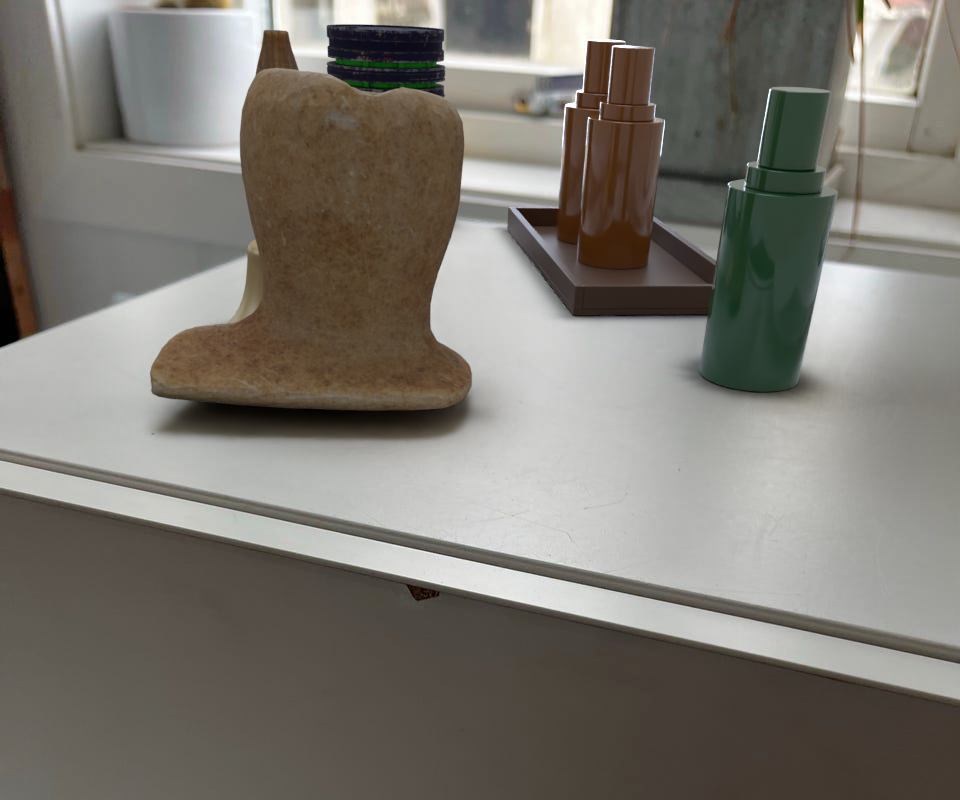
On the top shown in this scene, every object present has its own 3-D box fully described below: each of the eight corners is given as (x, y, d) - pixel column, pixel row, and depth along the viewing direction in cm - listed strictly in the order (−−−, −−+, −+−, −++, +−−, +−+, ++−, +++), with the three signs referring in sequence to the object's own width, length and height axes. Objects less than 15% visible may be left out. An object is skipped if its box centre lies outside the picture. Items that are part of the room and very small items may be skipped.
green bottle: (776, 359, 61) (829, 85, 53) (814, 391, 56) (879, 96, 48) (686, 360, 60) (727, 82, 52) (718, 392, 55) (768, 93, 47)
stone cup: (474, 363, 58) (483, 65, 50) (468, 442, 48) (479, 86, 40) (211, 353, 58) (177, 52, 50) (151, 430, 48) (96, 70, 40)
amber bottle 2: (636, 252, 82) (660, 45, 74) (656, 269, 77) (684, 50, 69) (569, 252, 81) (585, 43, 73) (585, 269, 76) (604, 48, 68)
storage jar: (452, 214, 94) (455, 28, 86) (432, 236, 86) (434, 32, 78) (348, 207, 95) (342, 23, 87) (319, 228, 87) (309, 27, 79)
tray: (639, 230, 91) (642, 207, 90) (747, 314, 69) (752, 285, 68) (507, 229, 90) (508, 206, 89) (573, 315, 67) (575, 286, 66)
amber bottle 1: (612, 231, 88) (631, 39, 80) (629, 246, 84) (651, 43, 76) (550, 231, 88) (563, 37, 80) (563, 246, 83) (578, 41, 75)
